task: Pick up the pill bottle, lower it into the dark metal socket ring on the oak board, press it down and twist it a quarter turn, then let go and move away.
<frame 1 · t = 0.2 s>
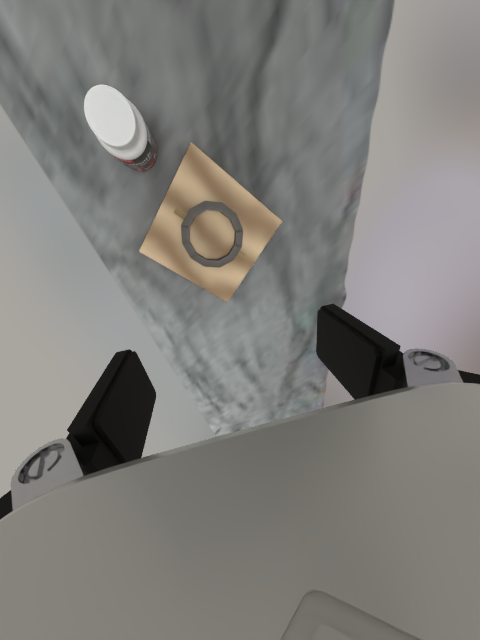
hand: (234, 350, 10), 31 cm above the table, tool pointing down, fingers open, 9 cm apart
pill bottle: (137, 148, 29), on the table
socket board: (212, 235, 36), on the table
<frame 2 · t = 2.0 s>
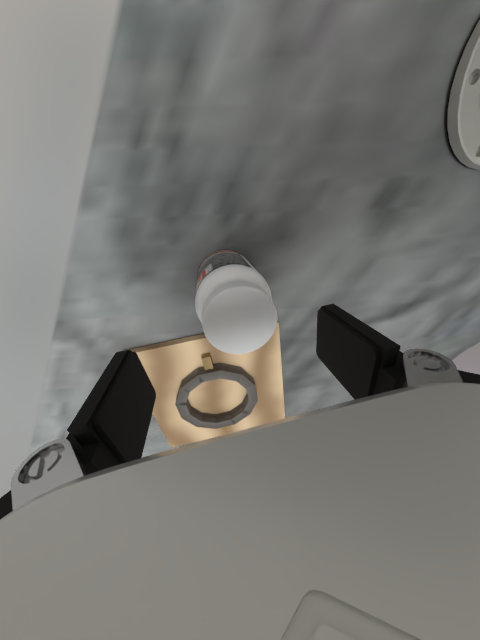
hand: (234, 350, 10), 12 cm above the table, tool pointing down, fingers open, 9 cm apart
pill bottle: (225, 277, 21), on the table
socket board: (217, 388, 28), on the table
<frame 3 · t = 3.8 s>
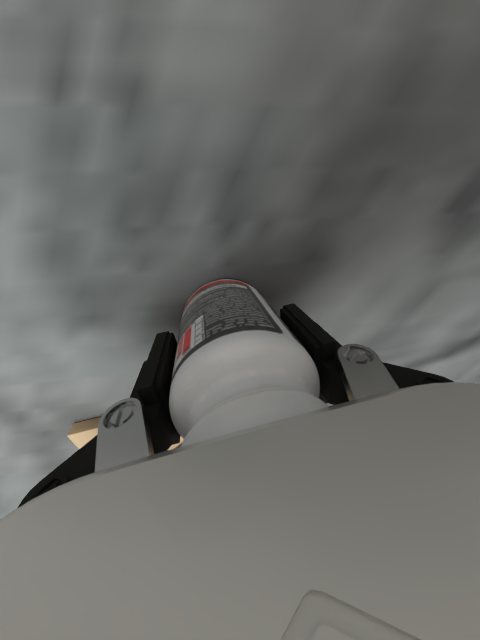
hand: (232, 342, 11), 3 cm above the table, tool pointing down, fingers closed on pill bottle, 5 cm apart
pill bottle: (225, 317, 14), on the table, touching gripper
socket board: (214, 455, 20), on the table
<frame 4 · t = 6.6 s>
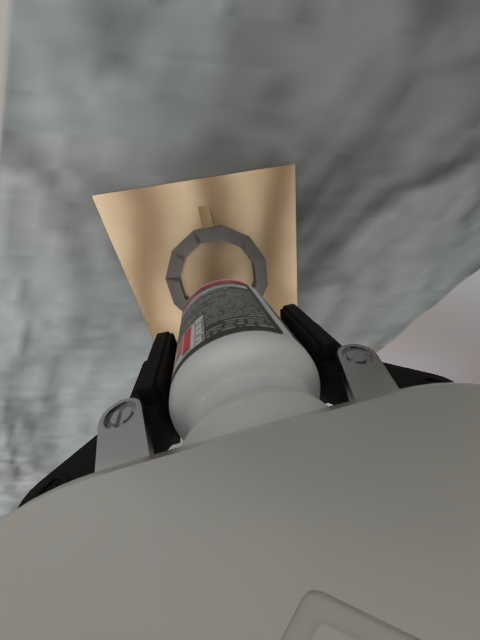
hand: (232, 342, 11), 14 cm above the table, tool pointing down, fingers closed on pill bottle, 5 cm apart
pill bottle: (225, 317, 14), point 10 cm above the table, touching gripper
socket board: (217, 275, 23), on the table
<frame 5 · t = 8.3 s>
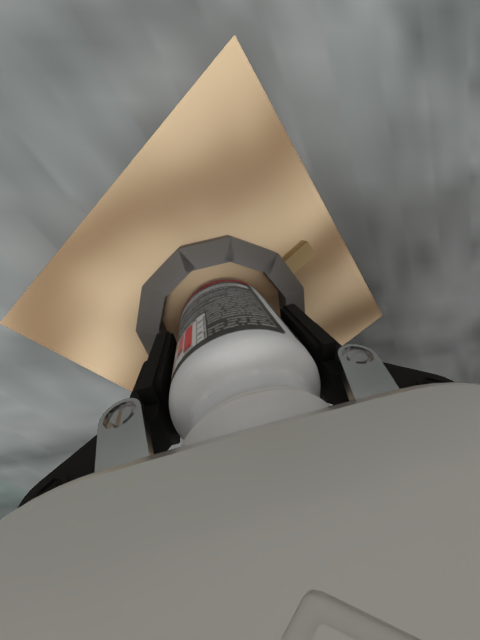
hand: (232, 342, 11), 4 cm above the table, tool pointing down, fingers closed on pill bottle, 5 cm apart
pill bottle: (225, 316, 14), point 1 cm above the table, touching gripper
socket board: (223, 312, 15), on the table
when the fingers open (4 cm above the table, at t = 9.5 s): pill bottle stays where it is, resting on socket board.
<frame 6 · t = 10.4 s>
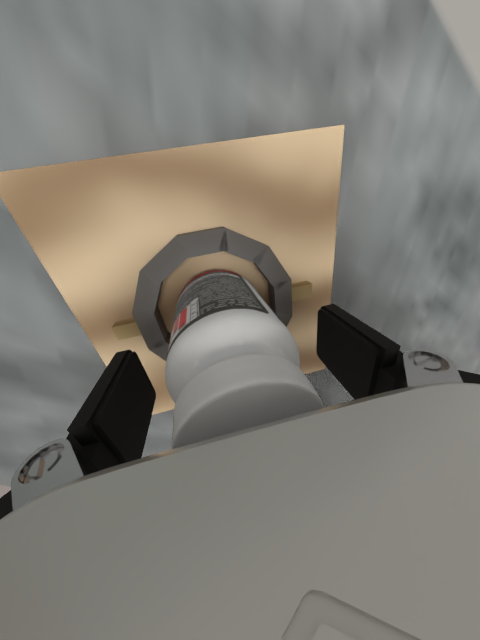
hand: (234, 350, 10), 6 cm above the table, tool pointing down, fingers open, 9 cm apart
pill bottle: (218, 305, 15), point 1 cm above the table, touching socket board
socket board: (216, 301, 15), on the table
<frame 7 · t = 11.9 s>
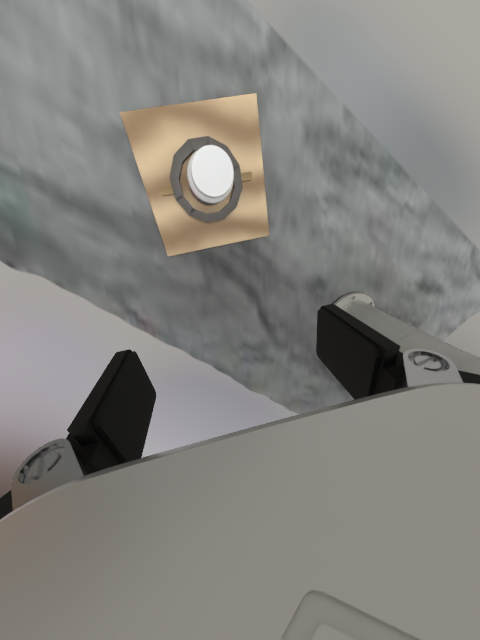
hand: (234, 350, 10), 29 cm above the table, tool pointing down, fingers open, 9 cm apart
pill bottle: (207, 184, 31), point 1 cm above the table, touching socket board
socket board: (206, 185, 31), on the table
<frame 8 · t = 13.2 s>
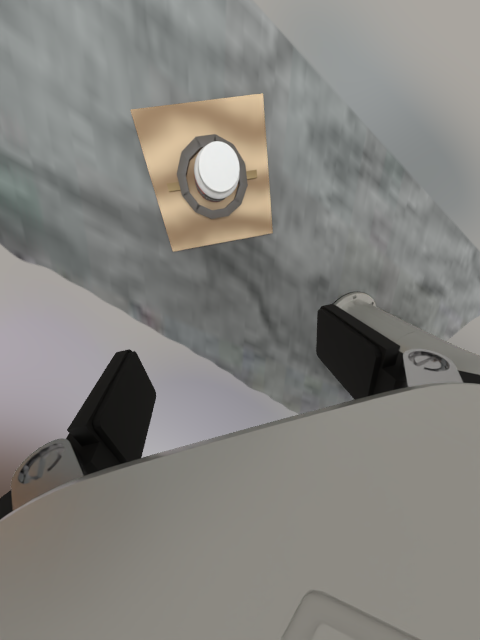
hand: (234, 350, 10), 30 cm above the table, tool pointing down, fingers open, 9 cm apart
pill bottle: (213, 181, 31), point 1 cm above the table, touching socket board
socket board: (212, 182, 32), on the table
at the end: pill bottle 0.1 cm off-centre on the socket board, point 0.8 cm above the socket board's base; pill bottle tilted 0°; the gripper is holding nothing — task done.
